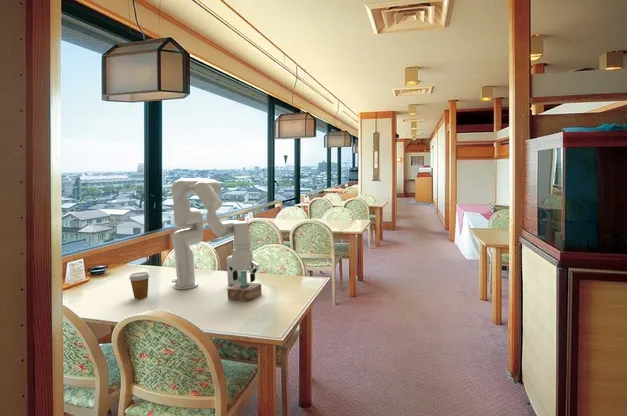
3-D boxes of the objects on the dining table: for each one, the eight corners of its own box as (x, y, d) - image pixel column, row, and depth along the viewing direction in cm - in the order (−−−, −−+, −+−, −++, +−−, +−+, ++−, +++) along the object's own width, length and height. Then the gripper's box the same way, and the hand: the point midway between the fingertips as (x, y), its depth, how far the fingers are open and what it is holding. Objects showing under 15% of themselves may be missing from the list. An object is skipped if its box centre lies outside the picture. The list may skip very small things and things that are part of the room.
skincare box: (238, 285, 228) (236, 257, 226) (227, 285, 229) (225, 257, 227) (244, 281, 236) (242, 254, 234) (233, 281, 237) (231, 254, 236)
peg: (240, 295, 206) (239, 271, 205) (243, 293, 209) (242, 270, 208) (245, 296, 205) (244, 272, 204) (248, 294, 208) (247, 270, 207)
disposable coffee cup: (155, 294, 217) (153, 272, 216) (142, 300, 208) (140, 277, 207) (140, 293, 220) (138, 271, 219) (126, 299, 211) (124, 276, 210)
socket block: (228, 299, 204) (227, 288, 203) (241, 292, 215) (240, 282, 214) (249, 301, 200) (248, 290, 199) (261, 294, 211) (261, 283, 210)
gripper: (222, 247, 204) (224, 281, 206) (253, 248, 198) (255, 284, 200) (231, 244, 211) (233, 277, 213) (261, 245, 205) (263, 279, 207)
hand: (244, 280), depth 206 cm, fingers open, 9 cm apart
